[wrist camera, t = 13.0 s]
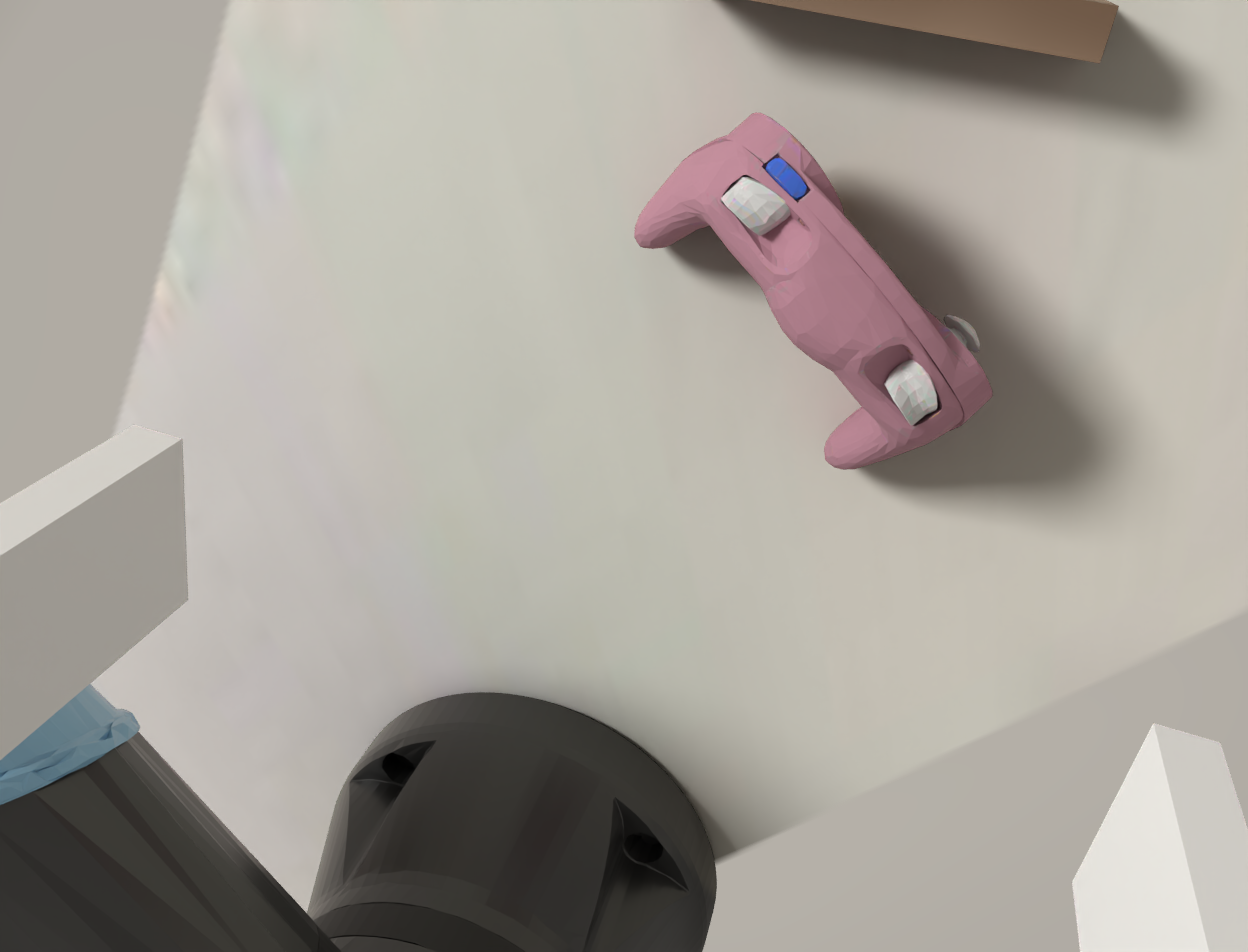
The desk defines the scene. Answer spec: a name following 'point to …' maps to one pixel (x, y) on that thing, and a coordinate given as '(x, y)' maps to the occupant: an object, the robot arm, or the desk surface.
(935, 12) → the dock
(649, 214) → the video game controller
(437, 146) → the desk surface
